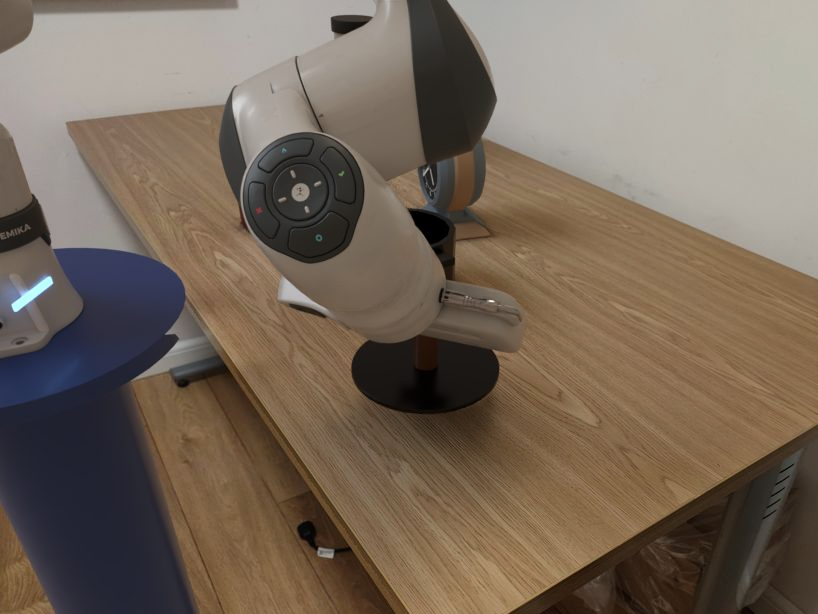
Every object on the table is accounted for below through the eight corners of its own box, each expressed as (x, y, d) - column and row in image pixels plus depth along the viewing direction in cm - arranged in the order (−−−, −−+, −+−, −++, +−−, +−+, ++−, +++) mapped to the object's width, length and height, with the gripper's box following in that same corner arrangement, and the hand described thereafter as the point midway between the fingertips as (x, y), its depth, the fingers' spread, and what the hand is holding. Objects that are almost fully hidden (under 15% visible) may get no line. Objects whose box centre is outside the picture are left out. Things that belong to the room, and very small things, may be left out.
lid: (407, 441, 59) (407, 370, 55) (324, 363, 68) (318, 297, 64) (529, 382, 67) (537, 316, 63) (439, 319, 76) (441, 258, 72)
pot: (402, 332, 82) (400, 269, 77) (323, 273, 94) (318, 215, 89) (487, 300, 89) (490, 241, 84) (404, 249, 101) (403, 194, 96)
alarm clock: (407, 210, 113) (406, 101, 104) (462, 204, 116) (465, 98, 107) (433, 245, 102) (434, 127, 93) (493, 238, 105) (500, 123, 96)
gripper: (527, 268, 50) (541, 317, 63) (280, 224, 55) (341, 278, 68) (507, 349, 49) (525, 382, 62) (257, 297, 54) (324, 338, 67)
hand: (428, 327), depth 65 cm, fingers closed on lid, 2 cm apart
